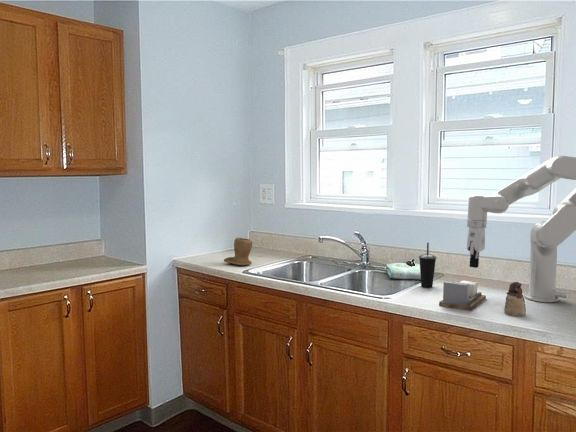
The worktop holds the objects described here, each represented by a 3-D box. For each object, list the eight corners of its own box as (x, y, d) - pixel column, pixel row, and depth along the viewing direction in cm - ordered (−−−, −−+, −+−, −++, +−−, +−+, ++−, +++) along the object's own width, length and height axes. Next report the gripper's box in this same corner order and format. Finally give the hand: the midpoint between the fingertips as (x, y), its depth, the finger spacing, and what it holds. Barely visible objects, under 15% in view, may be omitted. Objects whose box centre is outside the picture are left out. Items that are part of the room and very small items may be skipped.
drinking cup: (433, 289, 212) (434, 244, 210) (415, 287, 216) (416, 243, 214) (437, 285, 219) (438, 242, 217) (421, 283, 223) (421, 240, 221)
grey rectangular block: (469, 304, 184) (469, 284, 183) (466, 306, 182) (467, 285, 181) (445, 300, 189) (446, 280, 188) (443, 302, 187) (443, 282, 186)
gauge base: (485, 299, 197) (485, 292, 196) (470, 311, 181) (470, 304, 180) (456, 294, 204) (456, 288, 204) (439, 305, 188) (439, 298, 188)
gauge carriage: (477, 294, 197) (477, 282, 197) (469, 299, 189) (470, 287, 189) (455, 291, 202) (456, 279, 202) (447, 296, 194) (448, 284, 194)
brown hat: (257, 264, 269) (256, 237, 268) (241, 267, 261) (240, 240, 259) (238, 261, 280) (238, 235, 278) (223, 264, 271) (222, 237, 269)
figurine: (519, 310, 181) (520, 279, 179) (529, 316, 174) (531, 284, 172) (500, 311, 180) (501, 279, 179) (510, 317, 173) (511, 284, 172)
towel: (421, 271, 250) (421, 261, 250) (428, 281, 229) (429, 270, 229) (385, 271, 252) (385, 261, 251) (389, 280, 231) (389, 270, 230)
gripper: (480, 226, 194) (477, 271, 196) (491, 223, 206) (488, 265, 208) (461, 224, 198) (459, 268, 200) (472, 221, 210) (470, 263, 212)
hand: (473, 267), depth 204 cm, fingers closed
